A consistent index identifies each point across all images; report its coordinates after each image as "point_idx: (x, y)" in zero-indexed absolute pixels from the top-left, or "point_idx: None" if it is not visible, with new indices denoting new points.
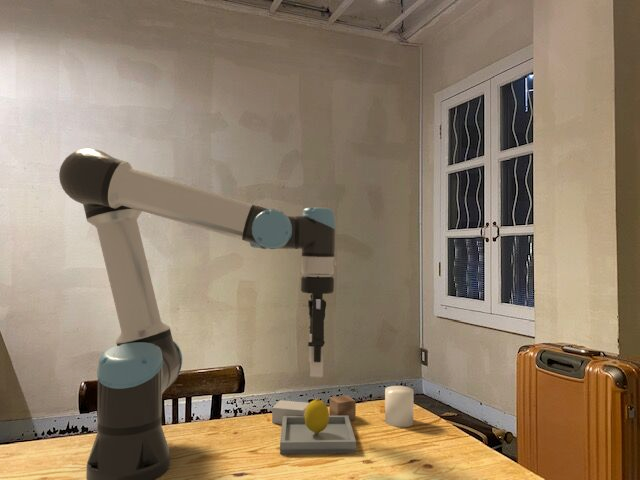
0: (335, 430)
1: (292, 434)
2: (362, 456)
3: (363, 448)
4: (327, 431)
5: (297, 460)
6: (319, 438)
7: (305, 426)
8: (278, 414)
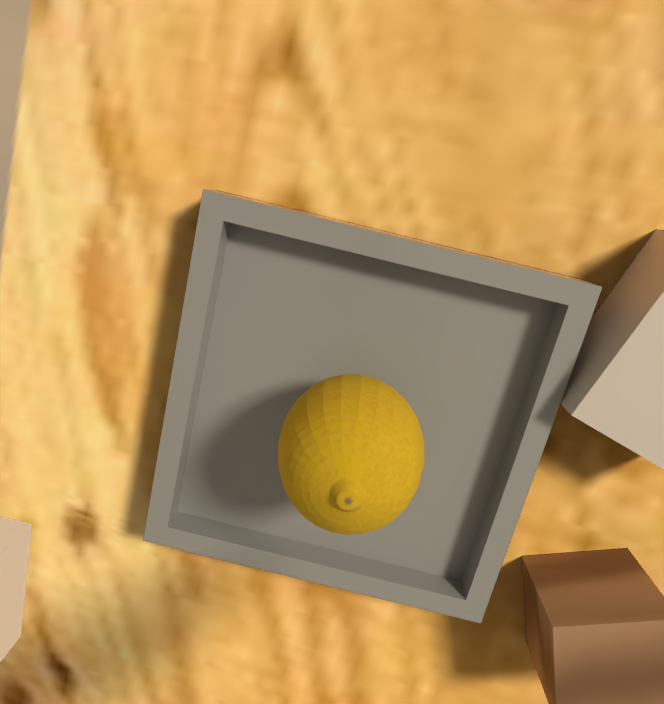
0: None
1: (384, 293)
2: (127, 525)
3: (201, 557)
4: None
5: (137, 257)
6: None
7: (475, 386)
8: (657, 269)
